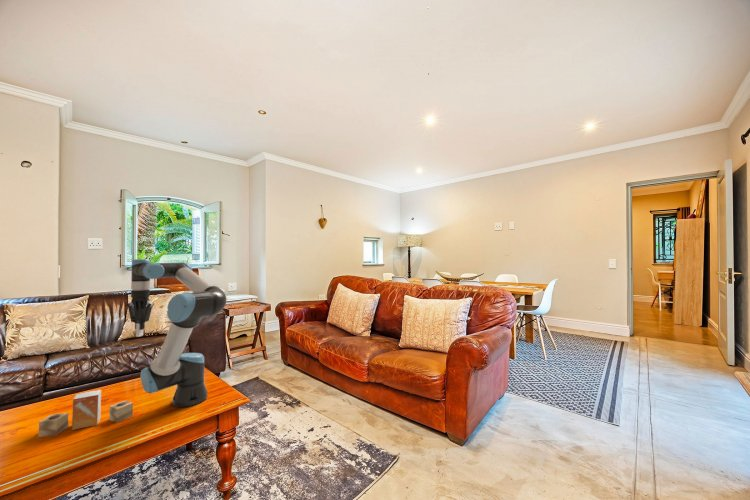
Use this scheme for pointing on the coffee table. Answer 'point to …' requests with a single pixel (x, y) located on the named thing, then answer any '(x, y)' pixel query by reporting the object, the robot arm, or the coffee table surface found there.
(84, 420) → the small box
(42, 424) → the marked block
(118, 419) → the marked block
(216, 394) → the coffee table surface
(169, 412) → the coffee table surface
